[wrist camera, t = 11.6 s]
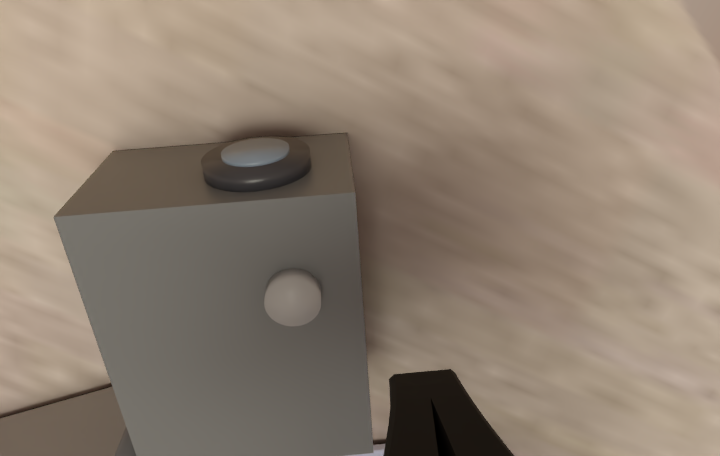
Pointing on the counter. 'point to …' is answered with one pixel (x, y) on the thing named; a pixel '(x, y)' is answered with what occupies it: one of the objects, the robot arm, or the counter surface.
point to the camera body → (227, 295)
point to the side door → (68, 429)
